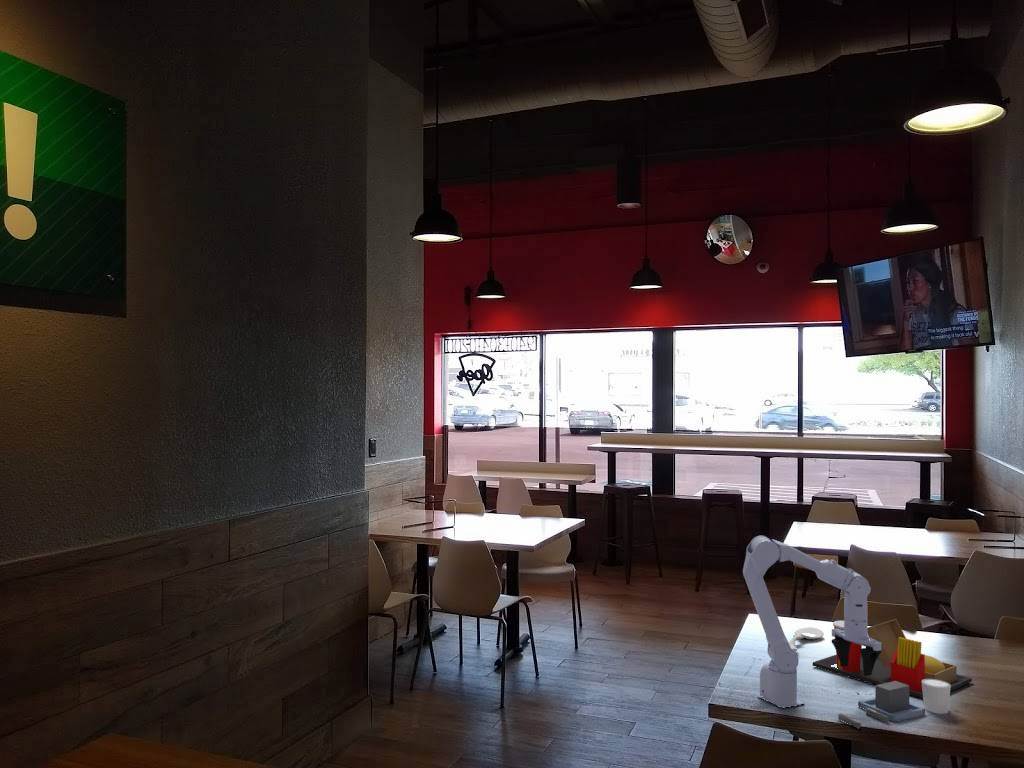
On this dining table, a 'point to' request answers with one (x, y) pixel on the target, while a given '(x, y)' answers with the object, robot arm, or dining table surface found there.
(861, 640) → the robot arm
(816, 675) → the dining table surface
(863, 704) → the tray
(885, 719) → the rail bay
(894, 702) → the grey bar
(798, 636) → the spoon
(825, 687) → the dining table surface
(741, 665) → the dining table surface
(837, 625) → the fast food meal
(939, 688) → the white cup
